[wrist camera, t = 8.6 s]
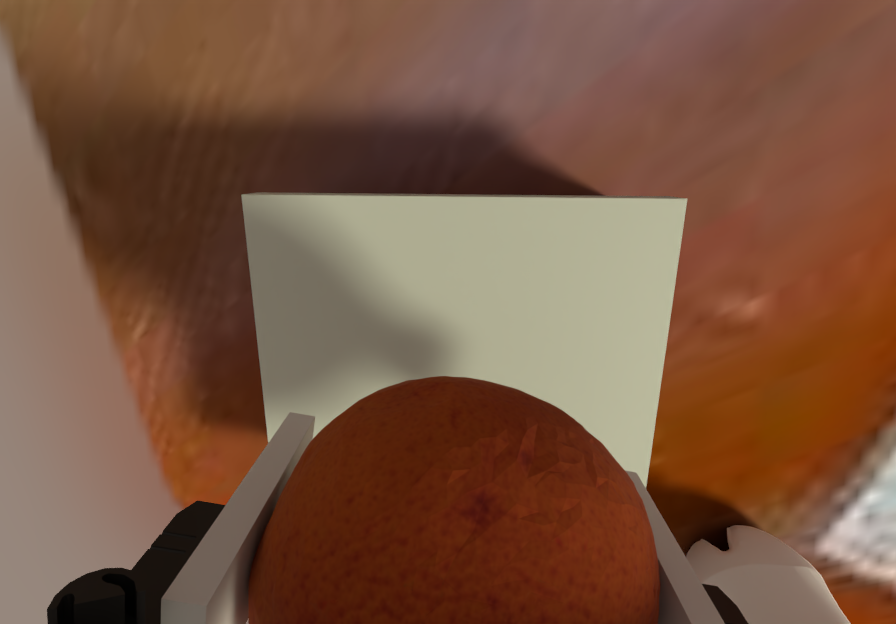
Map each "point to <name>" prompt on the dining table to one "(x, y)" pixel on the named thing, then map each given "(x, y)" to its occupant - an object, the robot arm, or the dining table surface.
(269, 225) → the small white table
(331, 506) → the fruit
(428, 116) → the dining table surface
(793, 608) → the water bottle
